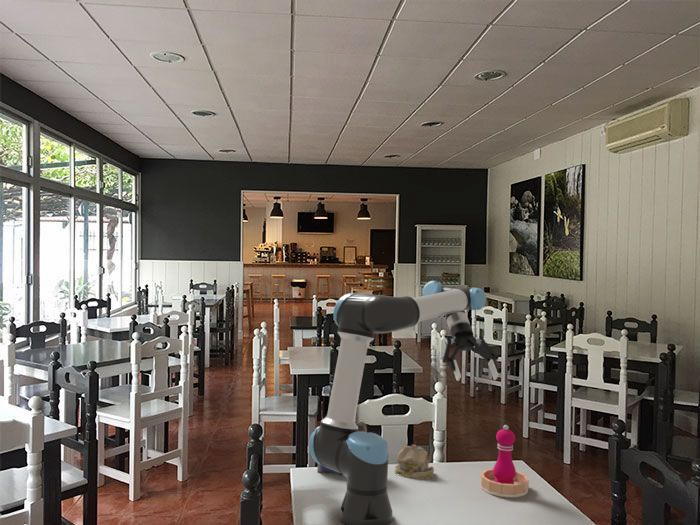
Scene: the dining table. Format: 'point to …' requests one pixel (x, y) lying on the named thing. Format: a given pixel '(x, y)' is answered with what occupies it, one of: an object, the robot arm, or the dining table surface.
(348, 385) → the robot arm
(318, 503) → the dining table surface
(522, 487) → the terracotta bowl
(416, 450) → the ceramic model
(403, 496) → the dining table surface
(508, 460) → the pepper mill
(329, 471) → the flask
